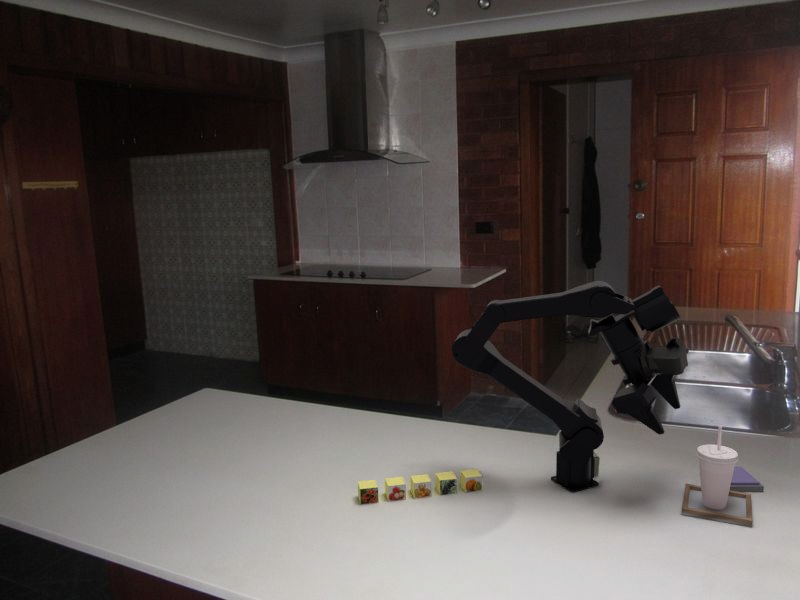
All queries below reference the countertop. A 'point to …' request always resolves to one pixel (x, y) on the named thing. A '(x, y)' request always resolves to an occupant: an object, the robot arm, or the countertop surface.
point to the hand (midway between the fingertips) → (670, 420)
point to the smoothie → (716, 472)
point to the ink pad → (744, 481)
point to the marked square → (734, 512)
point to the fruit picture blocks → (420, 486)
